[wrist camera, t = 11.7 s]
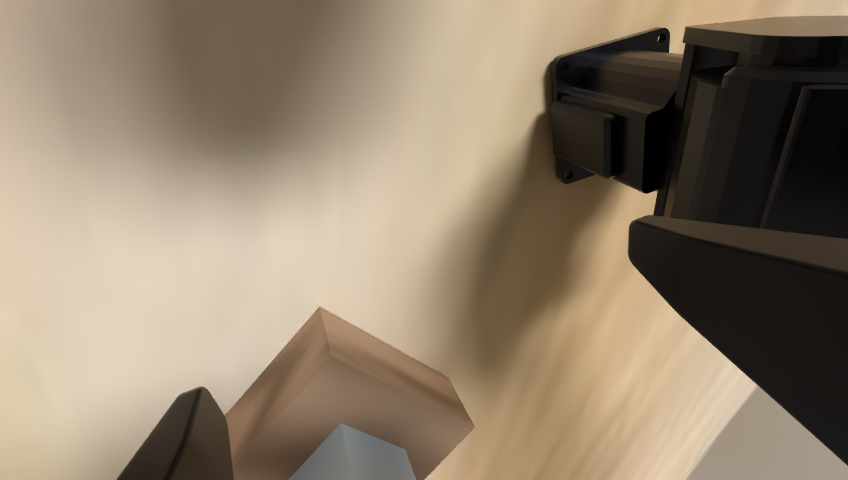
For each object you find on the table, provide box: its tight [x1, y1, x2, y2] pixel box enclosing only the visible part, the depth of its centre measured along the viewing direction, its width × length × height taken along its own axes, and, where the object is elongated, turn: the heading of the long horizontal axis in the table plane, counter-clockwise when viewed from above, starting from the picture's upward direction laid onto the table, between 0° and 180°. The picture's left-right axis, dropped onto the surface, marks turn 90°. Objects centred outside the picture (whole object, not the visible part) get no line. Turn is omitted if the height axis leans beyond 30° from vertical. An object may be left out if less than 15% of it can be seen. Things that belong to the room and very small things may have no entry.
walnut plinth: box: [225, 307, 475, 480], centre depth 25 cm, size 10×10×4 cm
